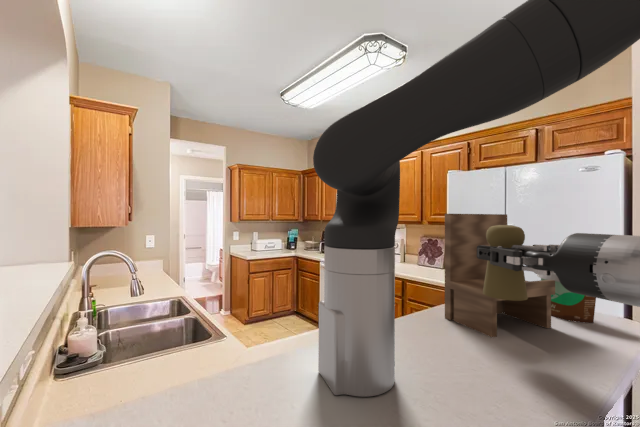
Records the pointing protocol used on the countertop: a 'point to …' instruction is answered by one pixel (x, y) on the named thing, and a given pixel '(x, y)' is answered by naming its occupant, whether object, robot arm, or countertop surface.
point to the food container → (570, 303)
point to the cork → (502, 279)
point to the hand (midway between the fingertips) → (489, 251)
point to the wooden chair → (469, 277)
